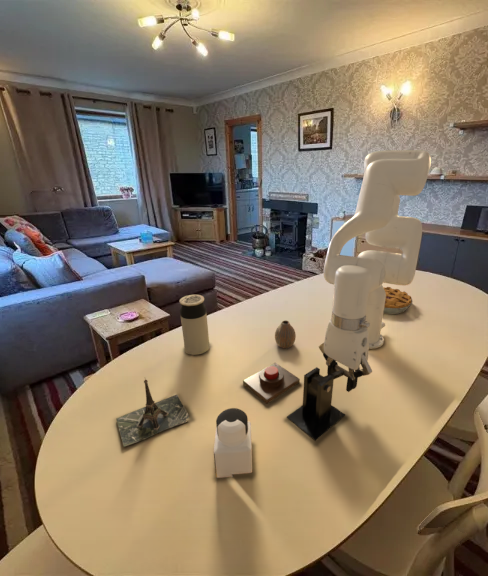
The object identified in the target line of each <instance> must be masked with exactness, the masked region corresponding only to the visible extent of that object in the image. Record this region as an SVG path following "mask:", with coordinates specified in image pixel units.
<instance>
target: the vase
mask: <svg viewBox="0 0 488 576" xmlns="http://www.w3.org/2000/svg"><path fill="white" fill-rule="evenodd" d="M296 337H297V334H296V330H295V328H294V327H293V326H292V325H291V323H290V321H289V320H282V321H281V322H280V324H279V326H277V327H276V330H275V332H274V340H275V344H277V346H279V347H280V348H282V349H289V348H292V347H293V345H294V344H295V342H296Z"/></svg>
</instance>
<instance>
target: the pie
mask: <svg viewBox="0 0 488 576" xmlns="http://www.w3.org/2000/svg"><path fill="white" fill-rule="evenodd" d="M383 288H384V290H385V293H386V299H385V305H384V312H383V314H385V315H398V314H402V313H404V312H406V310H408V308H409V307H410V306H412V305H413V298H412V296H411V295H409V294H408V292H406V291H402V290H400V289H398V288H392V287H391V286H386V287H385V286H383Z"/></svg>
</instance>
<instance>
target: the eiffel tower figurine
mask: <svg viewBox="0 0 488 576" xmlns="http://www.w3.org/2000/svg"><path fill="white" fill-rule="evenodd" d="M143 384H144V389H145V406H144V407H141V408H138V409H136V410H133V411H130V412H129V413H126V414H123V415H121V416H119V417H116V423H117V428H118V431H119V435H120V438H121V442H122V446H123V447H128V446H130V445H133V444H136V443H139V442H141V441H144V440H146V439H148V438H151V437H153V436H155V435H157V434H160V433H161V432H164V431H166V430H168V429H172V428H173V427H177V426H180V425H182V424H185V423H187V422H188V419H190V418H191V416H190V415H189V412H188V410H187V408H186V407H185V406H184V404H183V402H182V401H181V399H180V397H179V395H178V394H174V395H171V396H168V397H167V398H164V399H161V400H159V401H157V402H155V400H154V399H153V397H152V394H151V390H150V387H149V384H148V380H147V379H146V378H144V380H143Z"/></svg>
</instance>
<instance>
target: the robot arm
mask: <svg viewBox="0 0 488 576" xmlns="http://www.w3.org/2000/svg"><path fill="white" fill-rule="evenodd" d="M431 160H432V159H431V154H430V153H429V151H426V150H423V149H422V150H421V149H409V150H408V149H407V150H404V149H402V150H400V149H399V150H398V149H397V150H394V149H393V150H391V149H389V150H388V149H387V150H377V151H371V152H369V153H368V154H367V155H366V156H365V158H364V160H363V173H364V174H363V178H362V182H361V187H360V191H359V195H358V199H357V203H356V208H355V212H354V215H353V216H352V217H351V218H349V219H348V220H347V221H345V222H344V223H343V224H342V225H341V226H340V227H339V228H338V229H337V230H336V231H335V233H334V234H333V235H332V238H331V240H330V242H329V245H328V247H327V251H326V255H325V259H324V265H323V278H324V280H325V281H326V283H328V284H331V285H333V297H332V308H331V318H330V319H329V320H328V323H327V326H326V331H325V335H324V340H323V341H324V342H323V343H321V344H320V345H319V346H318V349H319V350H320V352H321V354H322V356H323V358H324V360H325V365H326V366H327V372H326V375H329V374H332V373H334V372H336V371H335V370H334V366H335V365H338V366H339V364H341V365H343V366H344V367H347V368H348V371H349V375H350V376H349V377H348V378H347V377H346V378H347V379H346V388H345V391H346V392H347V393H349V392H350V393H351V391H352V390H355V389H356V388H357V386H358V379H359V378H361V377H363V376H369V375H371V374H372V373H373V370H372V368H371V366H370V363H369V362H368V361H369V350H375V349H378V348H381V347H382V346H383V345H384V343H385V338H384V335H382V334H381V330H382V329H384V328H385V327H386V323H385V322H384V321H383V317H384V313H383V312H384V305H385V299H386V293H385V290H384V288H383V287H384V286H383V284H390V285H396V286H403V287H404V286H409V285H410V284H412V283H413V281H414V279H415V275H416V270H417V266H418V261H419V253H420V248H421V242H422V236H423V223H422V221H421V220H420V219H419V218H417V217H413V216H404V215H403V216H402V215H399V209H400V203H401V197H400V196H408V197H409V196H410V197H411V196H412V197H415V196H418V195H420V194H421V193H422V191H423V190H424V188H425V186H426V184H427V179H428V176H429V173H430V170H431V163H432V161H431ZM364 234H365V241H366V243H367V244H368V245H371V246H375V247H381V248H389V249H399V250H400V251H401V253H400V252H390V251H382V250H374V249H370V250H369V249H368V250H364V251H361V252H360V253H359V254H358V255H357V256H354V255H344V254H341V252H342V250H343V248H344V246H345V245H346V244H347V243H348V242H349V241H351V240H353V239H354V238H356V237H358V236H361V235H364ZM360 366H361V367H360Z"/></svg>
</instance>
